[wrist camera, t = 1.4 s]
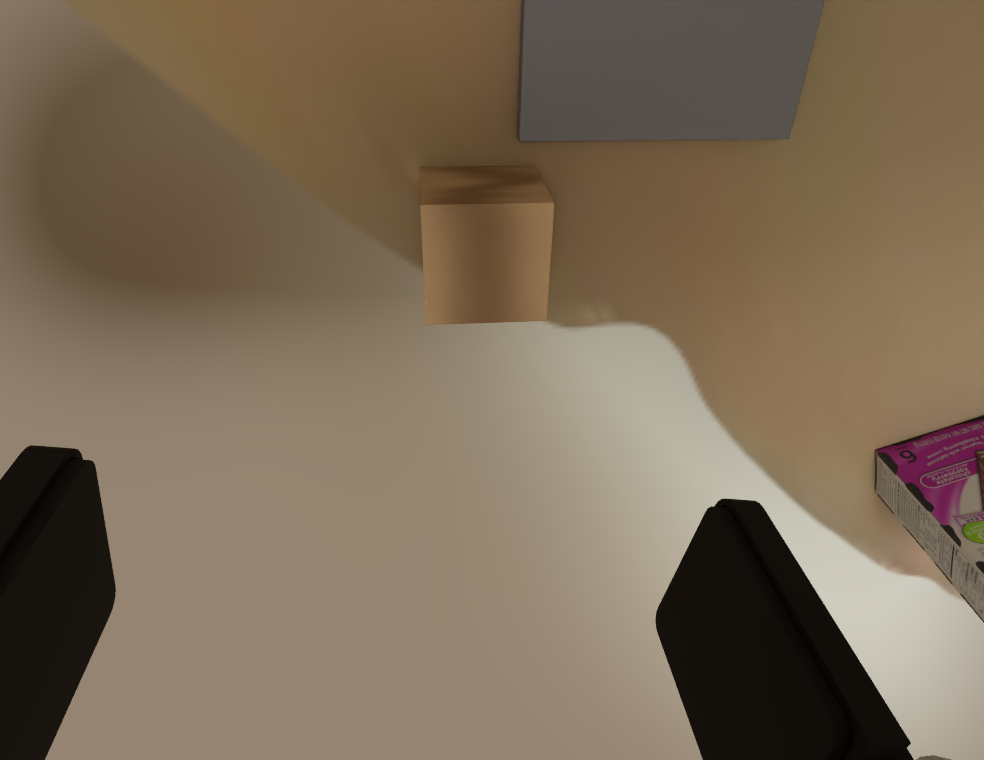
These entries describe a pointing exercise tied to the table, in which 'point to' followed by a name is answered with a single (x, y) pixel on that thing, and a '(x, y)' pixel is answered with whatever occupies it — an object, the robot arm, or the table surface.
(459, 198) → the oak cube
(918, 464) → the candy bar box
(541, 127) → the charcoal mat
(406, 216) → the table surface
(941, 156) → the table surface
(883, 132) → the table surface
